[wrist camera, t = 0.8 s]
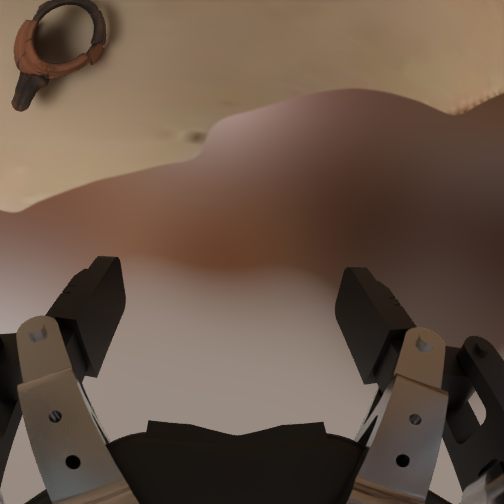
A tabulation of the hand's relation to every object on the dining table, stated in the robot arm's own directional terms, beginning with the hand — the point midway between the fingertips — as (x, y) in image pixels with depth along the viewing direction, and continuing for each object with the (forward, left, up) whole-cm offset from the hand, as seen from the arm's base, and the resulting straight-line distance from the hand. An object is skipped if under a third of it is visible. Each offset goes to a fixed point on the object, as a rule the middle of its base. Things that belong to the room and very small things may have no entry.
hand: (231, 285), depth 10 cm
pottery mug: (-19, +3, -23) cm, 30 cm away
